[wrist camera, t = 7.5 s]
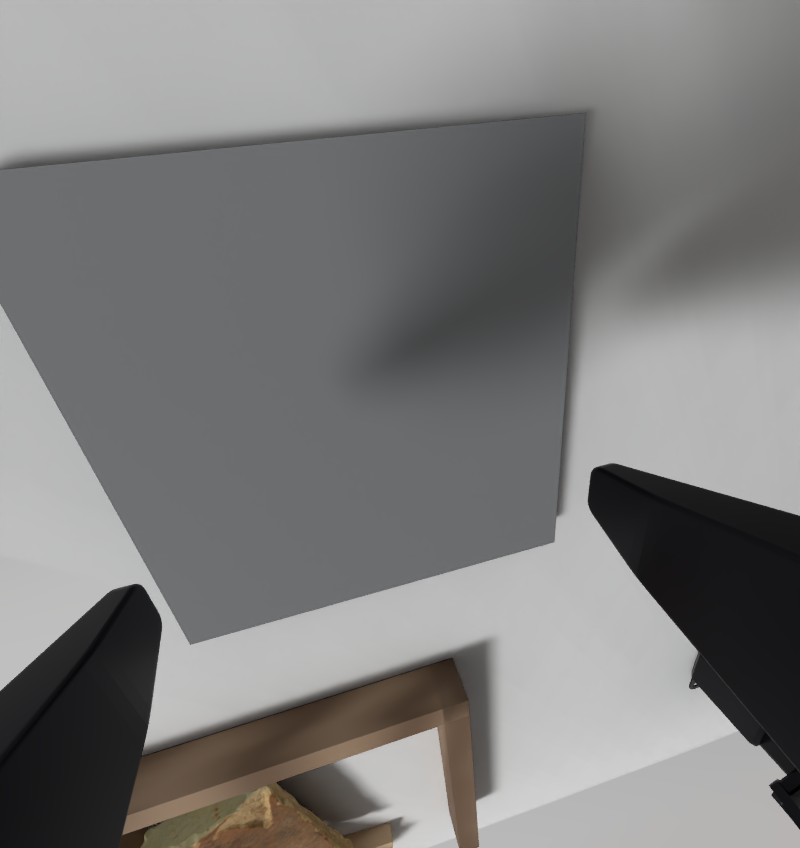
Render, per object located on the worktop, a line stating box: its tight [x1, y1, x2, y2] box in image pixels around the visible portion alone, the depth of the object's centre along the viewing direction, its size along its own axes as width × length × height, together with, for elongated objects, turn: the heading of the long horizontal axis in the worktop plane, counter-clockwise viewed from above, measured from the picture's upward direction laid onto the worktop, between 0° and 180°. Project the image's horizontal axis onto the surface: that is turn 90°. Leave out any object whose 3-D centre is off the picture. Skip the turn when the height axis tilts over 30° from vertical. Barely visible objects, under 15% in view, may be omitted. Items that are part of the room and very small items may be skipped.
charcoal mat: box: [0, 113, 586, 645], centre depth 12 cm, size 14×14×1 cm
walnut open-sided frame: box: [119, 658, 479, 848], centre depth 21 cm, size 17×16×2 cm
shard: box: [141, 782, 353, 848], centre depth 20 cm, size 11×8×2 cm
